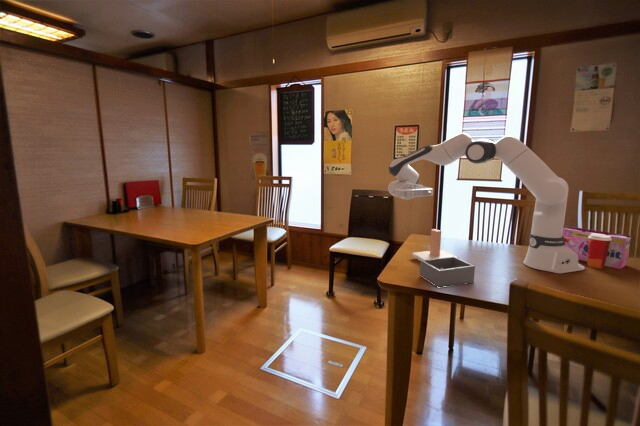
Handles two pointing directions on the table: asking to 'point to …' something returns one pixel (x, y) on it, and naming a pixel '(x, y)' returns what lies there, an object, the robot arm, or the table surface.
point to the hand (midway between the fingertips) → (422, 194)
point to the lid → (433, 248)
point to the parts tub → (447, 271)
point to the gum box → (615, 251)
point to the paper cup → (598, 250)
